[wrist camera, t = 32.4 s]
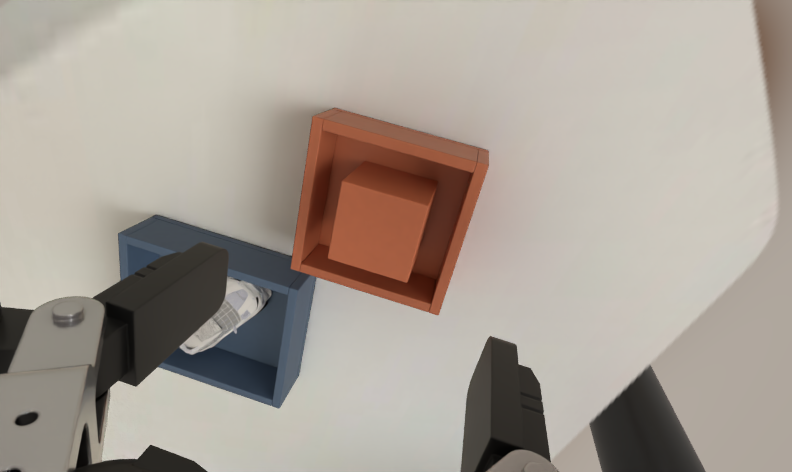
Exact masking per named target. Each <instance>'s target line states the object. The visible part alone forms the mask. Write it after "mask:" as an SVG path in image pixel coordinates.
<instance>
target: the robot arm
mask: <svg viewBox="0 0 792 472" xmlns="http://www.w3.org/2000/svg"><path fill="white" fill-rule="evenodd" d="M228 261H229V253H228V251H227V250H226V249H224V248H221V247H218V246H215V245H212V244H208V243H205V242H199V243H198V244H196V245H194V246H193V247H191V248H190V249H188V250H186V251H185V252H183V253H182V252H176V253H173V254H169V255H166V256H162V257H160V258H158V259H156V260H155V261H153V262H151V263H150V264H148V265H147V266H146V268H145V267H143V268H141V269H140V270H138V271H136V272H135V274H134V275H133V274H131V275H130V276H128V277H126V278H125V279H123V280H121V281H120V282H118V283H116V284H115V285H113V286H111V287H110V288H108V289H107V290H105V291H103V292H102V293H100V294H98V295H97V296H95V297H93V298H88V297H80V296H73V297H64V298H59V299H55V300H52V301H49V302H47V303H45V304H43V305H41V306H39V307H38V308H37V309H35V310H26V309H16V308H5V307H1V304H0V472H207V471H206V470H205V469H203V468H202V467H201V466H200V465H198V464H197V463H196V462H194V461H192V460H189V459H187V458H184V457H181V456H179V455H176V454H174V453H171V452H168V451H166V450H163V449H160V448H158V447H155V446H152V445H150V446H149V447H148V448H147V449H146V450H145V451H144V453H143V454H142V455H141V456H140V457H139V458H138V459H118V460H110V461H103V462H102V453H103V445H104V438H105V431H106V423H107V416H108V409H109V401H110V387H111V386H112V385H114V384H115V383H116V382H117V381H118V380H119V381H122V382H124V383H127V384H130V385H133V386H135V387H136V386H137V385H138V384H140V383H141V382H142V381H143V380H144V379H145V378H146V377H147V376H148V375H149V374H150V373H151V372H153V371H154V370H155V369H156V368H157V367H158V366H159V365H160V364H161V363H162V362H163V361H164V360H166V359H167V358H168V357H169V356H170V355H171V354H172V353H173V352H174V351H175V350H176V349H177V348H179V347H180V346H181V345H182V344H183V343H184V342H185V341H186V340H187V339H188V338H189V337H191V336H192V335H193V334H194V333H195V332H196V331H197V330H198V329H199V328H200V327H201V326H202V325H204V324H205V323H206V322H207V321H208V320H209V319H210V318H211V317H212V316H213V315H214V314H215V313H216V312H217V311H218V310H219V309H220V307H221V305H222V304H223V301H224V299H225V295H226V286H227V273H228ZM541 400H542V396H541V389H540V383H539V382H538V380H537V378H536V377H535V375H534V373H533V372H532V370H531V368H528V367H525V366H522V365H519V364H518V355H517V346H516V344H513V343H510V342H507V341H504V340H501V339H498V338H495V337H492V336H490V337H489V338H488V340H487V342H486V344H485V347H484V349H483V351H482V354H481V356H480V359H479V361H478V364H477V366H476V368H475V371H474V373H473V376H472V378H471V381H470V385H469V389H468V394H467V401H466V414H465V426H464V439H463V451H462V464H461V472H559V471H558V470H557V469H556V468H555V467H554V465H553V464H552V463H551V460H550V453H549V446H548V439H547V432H546V425H545V418H544V415H543V412H544V410H543V403H542V402H541Z"/></svg>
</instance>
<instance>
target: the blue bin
mask: <svg viewBox="0 0 792 472" xmlns="http://www.w3.org/2000/svg"><path fill="white" fill-rule="evenodd" d="M118 241H119V260H120V278H121V280H123V279H125V278H126V277H128V276H130V275H131V274H133V275H134V274H135V272H136V271H138V270H140V269H141V268H143V267H145V268H146V266H147V265H148V264H150V263H151V262H153V261H155V260H156V259H158V258H160V257H162V256H166V255H169V254H173V253H176V252H182V253H183V252H185V251H186V250H188V249H190V248H191V247H193V246H194V245H196V244H198V243H199V242H205V243H208V244H212V245H215V246H218V247H221V248H224V249H226V250H227V251H228V253H229V261H228V273H227V276H229V277H232V278H235V279H238V280H242V281H245V282H248V283H251V284H254V285H257V286H260V287H263V288H267V289H270V290H271V293H272V294H271V297H270V298H269V299H268V300H267V302H268V305H267V306H266V307H265V308H264V309H263V310H262V311H261V312H260V313H258V314H257V315H256V316H254V317H252V318H250V319H249V320H248V321H246V322H245V323H244V324H242V325H241V326H239V327H238V328H236V329H237V333H236V334H235V332H234V331H232V332H231V333H229V334H228V335H227V336H225V337H224V338H223V339H222V340H221V341H220V342H219V343H218V344H216V345H215V346H213V347H212V348H208V349H206V350H204V351H202V352H197V353H195V354H193V355H191V354H189V353H185V352H184V351H183V350H182V349H181V348H180V347H179V348H177V349H176V350H175V351H174V352H173V353H172V354H171V355H170V356H169V357H168V358H167V359H166V360H164V361H163V362H162V363H161V364H160V365H159V366H158V367H160V368H163V369H165V370H168V371H171V372H174V373H177V374H180V375H183V376H186V377H189V378H192V379H195V380H197V381H200V382H203V383H206V384H209V385H212V386H215V387H218V388H221V389H224V390H226V391H229V392H232V393H235V394H238V395H241V396H244V397H247V398H250V399H253V400H256V401H258V402H261V403H264V404H267V405H270V406H271V405H272V406H273V407H276V408H280V407H281V405H282V403H283V401H284V400H285V398H286V396H287V395H288V393H289V391H290V390H291V388H292V386H293V385H294V383H295V381H296V379H297V378H298V376H299V372H300V366H301V360H302V355H303V349H304V343H305V338H306V332H307V326H308V321H309V315H310V309H311V304H312V298H313V293H314V287H315V281H316V277H315V276H312V275H309V274H305V273H302V272H300V271H296V270H293V269H291V261H292V257H290V256H287V255H284V254H281V253H277V252H274V251H271V250H268V249H265V248H261V247H258V246H255V245H252V244H248V243H245V242H242V241H239V240H236V239H232V238H229V237H226V236H223V235H220V234H216V233H213V232H210V231H207V230H204V229H200V228H197V227H194V226H191V225H188V224H184V223H181V222H178V221H175V220H172V219H168V218H165V217H162V216H159V215H155V216H153V217H151V218H149V219H147V220H145V221H143V222H141V223H138V224H136V225H134V226H132V227H130V228H128V229H126V230H124V231H122V232H120V233H118Z"/></svg>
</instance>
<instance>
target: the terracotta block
mask: <svg viewBox="0 0 792 472" xmlns="http://www.w3.org/2000/svg"><path fill="white" fill-rule="evenodd" d="M437 186H438V181H435V180H432V179H428V178H425V177H421V176H418V175H414V174H411V173H407V172H404V171H400V170H397V169H393V168H390V167H386V166H383V165H379V164H376V163H372V162H369V161H364V162H363V163H362V164H361V165H360V166H359V167H357V168H356V169H355V170H354V171H353V172H352V173H351V174H349V175H348V176H347V177H346V178H345V179H344V180H343V181H342V182H341V188H340V193H339V199H338V204H337V209H336V215H335V220H334V226H333V231H332V236H331V242H330V247H329V253H328V259H331V260H335V261H338V262H341V263H344V264H348V265H351V266H354V267H357V268H361V269H364V270H367V271H370V272H373V273H377V274H380V275H383V276H386V277H390V278H393V279H396V280H399V281H403V282H406V283H407V282H408V279H409V277H410V274H411V271H412V268H413V265H414V263H415V260H416V257H417V254H418V251H419V248H420V245H421V242H422V238H423V235H424V231H425V228H426V224H427V221H428V217H429V214H430V210H431V207H432V203H433V200H434V196H435V193H436V189H437Z"/></svg>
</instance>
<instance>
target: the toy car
mask: <svg viewBox="0 0 792 472" xmlns="http://www.w3.org/2000/svg"><path fill="white" fill-rule="evenodd" d="M271 294H272V293H271V290H270V289H267V288H263V287H260V286H257V285H254V284H251V283H248V282H245V281H242V280H238V279H235V278H232V277H229V276H227V286H226V295H225V299H224V301H223V304H222V305H221V307H220V309H219V310H218V311H217V312H216V313H215V314H214V315H213V316H212V317H211V318H210V319H209V320H208V321H207V322H206V323H205V324H204V325H202V326H201V327H200V328H199V329H198V330H197V331H196V332H195V333H194V334H193V335H192V336H191V337H189V338H188V339H187V340H186V341H185V342H184V343H183V344H182V345H181V346H180V348H181V349H182V350H183V351H184V352H185V353H189V354H191V355H193V354H195V353H197V352H202V351H204V350H206V349H208V348H212V347H213V346H215V345H216V344H218V343H219V342H220V341H221V340H222V339H223V338H224V337H225V336H227V335H228V334H229V333H231V332H232V331H234V332H235V334H236V333H237V329H236V328H238V327H239V326H241V325H242V324H244V323H245V322H246V321H248V320H249V319H250V318H252V317H254V316H256V315H257V314H258V313H260V312H261V311H262V310H263V309H264V308H265V307H266V306H267V305H268V302H267V300H268V299H269V298H270V297H271Z"/></svg>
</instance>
